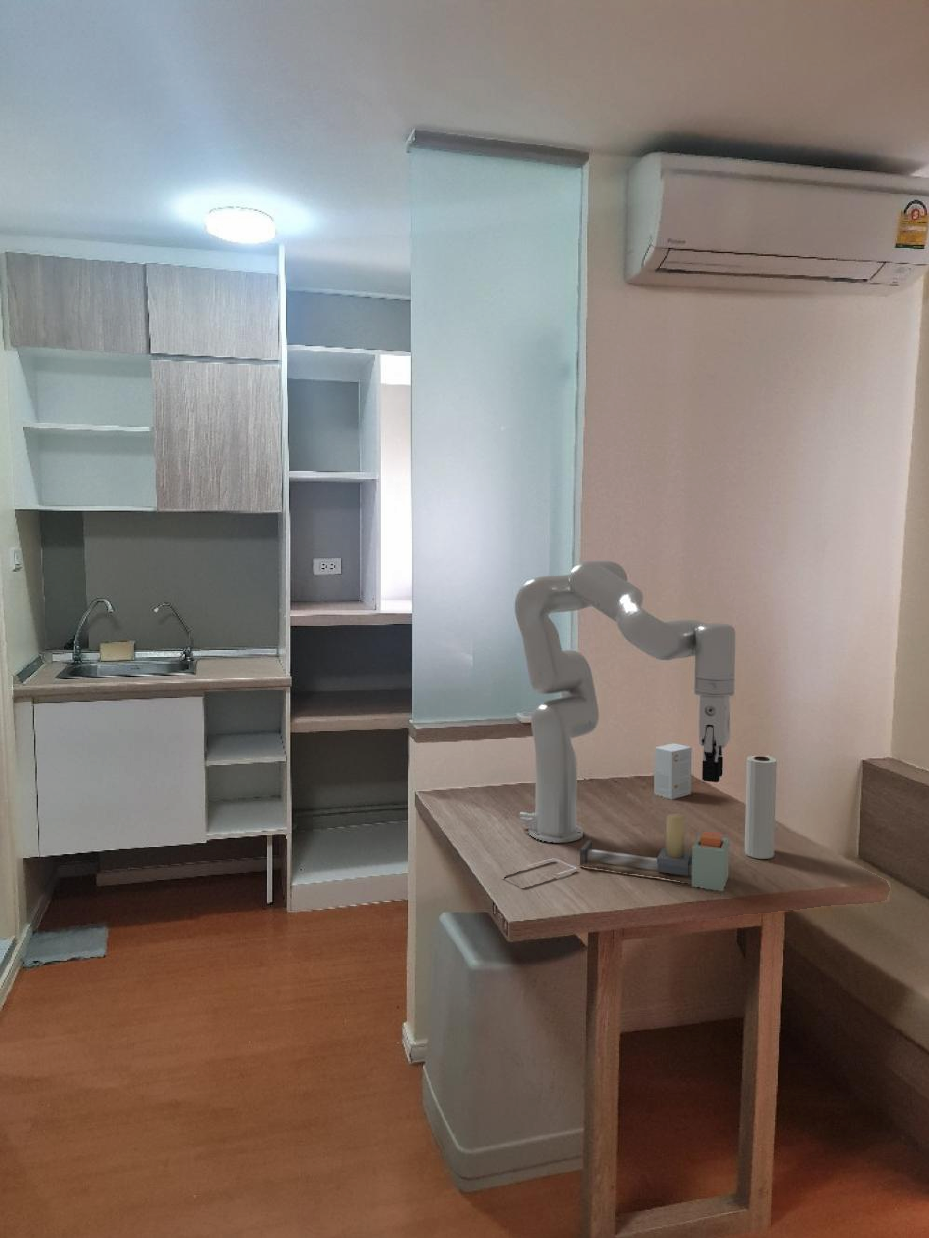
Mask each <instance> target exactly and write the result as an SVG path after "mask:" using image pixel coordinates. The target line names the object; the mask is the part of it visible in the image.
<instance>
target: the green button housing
mask: <svg viewBox="0 0 929 1238" xmlns="http://www.w3.org/2000/svg"><path fill="white" fill-rule="evenodd" d="M701 835H702V834H698V835H697V837H696V839H695V841H694V843H693V845H692V847H691V852H692V885H691V887H692V888H697V887H700V888H699V889H703V888H705V889H704V890H710V889H711V890H712V891H717V890H718V892H724V890H725V888H726V886H727V885H726V884H727V881H728V879H729V863H730V862H729V859H730V848H729V847H730V838H727V837H722V844H721V848H718V847H710V846H703V845H700V837H701ZM724 887H725V888H724Z"/></svg>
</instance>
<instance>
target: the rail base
mask: <svg viewBox="0 0 929 1238" xmlns="http://www.w3.org/2000/svg"><path fill="white" fill-rule="evenodd" d="M580 866H584V867H589V868H597V869H603V870H609V871H615V872H621V873H627V874H638V875H644V876H652V877H660V878H665V879H670V880H676V881H680V882H684V883H689V884H688V885H690V884H692V863H690V864H689V875H688V876H684V875H677V874H671V873H664V872H658V864H657V857H650V856H642V855H637V854H635V855H634V854H629V853H622V852H616V851H615V852H613V851H607V850H600V849H593V840H589V839H588V840H587V841H586V842H585V843H584V844H583V845H582V846H581V847H580V849H579V867H580Z"/></svg>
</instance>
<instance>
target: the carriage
mask: <svg viewBox="0 0 929 1238" xmlns="http://www.w3.org/2000/svg"><path fill="white" fill-rule="evenodd" d="M685 820H686V819H685V815H682V814H680V813H669V814H667V815H666V833H665V835H666V836H665V837H666V839H665V840H666V841H665V842H666V843H665V848H664V847H662V849H661V851H660V852H659V854H658V855H657V857H656V858H657V864H658V872H664V873H671V874H677V875H684V876H688V875H689V864H690V863H692V851H686V850H685Z"/></svg>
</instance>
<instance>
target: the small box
mask: <svg viewBox="0 0 929 1238" xmlns="http://www.w3.org/2000/svg"><path fill="white" fill-rule="evenodd" d="M692 752H693V751H692V747H691V746H688V745H685V744H679V743H676V742H675V743H674V742H673V743H668V744H664V745H660V746H656V747H654V754H653V755H654V760H653V762H654V769H653V770H654V775H653V777H654V778H653V782H654V784H653V785H654V786H653V788H654V789H653V791H654V793H653V794H654V795H655V796H658V795H659V796H658V797H661V796H663V797H662V798H665V799H668V800H674V799H678V798H681V797H685V796H689V795H692V756H693V755H692Z"/></svg>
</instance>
